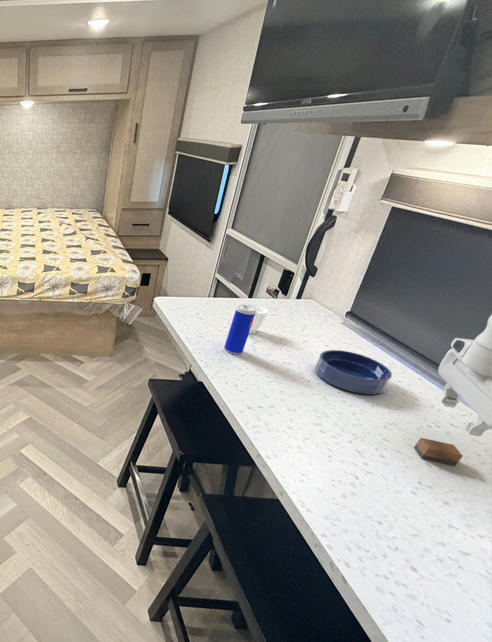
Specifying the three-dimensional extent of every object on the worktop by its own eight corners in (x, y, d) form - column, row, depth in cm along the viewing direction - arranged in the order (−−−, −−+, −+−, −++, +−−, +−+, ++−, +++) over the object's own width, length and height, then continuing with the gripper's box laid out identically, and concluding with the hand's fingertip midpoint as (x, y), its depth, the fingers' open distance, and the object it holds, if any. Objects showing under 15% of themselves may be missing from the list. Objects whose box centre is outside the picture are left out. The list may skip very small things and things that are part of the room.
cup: (261, 329, 138) (269, 308, 134) (258, 340, 131) (266, 319, 127) (239, 323, 142) (245, 303, 138) (234, 334, 135) (241, 313, 131)
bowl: (371, 371, 115) (379, 356, 112) (392, 401, 103) (402, 386, 100) (308, 360, 120) (314, 346, 118) (321, 387, 108) (328, 372, 106)
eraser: (446, 454, 87) (453, 444, 85) (455, 466, 84) (463, 456, 82) (413, 447, 89) (420, 437, 87) (421, 458, 86) (428, 448, 84)
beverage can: (243, 356, 123) (258, 312, 116) (225, 353, 124) (238, 310, 117) (240, 347, 127) (254, 305, 120) (222, 345, 129) (235, 303, 122)
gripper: (565, 397, 65) (513, 458, 72) (490, 340, 82) (453, 394, 88) (512, 388, 67) (466, 447, 74) (449, 334, 84) (416, 387, 90)
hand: (458, 418), depth 81 cm, fingers open, 8 cm apart
